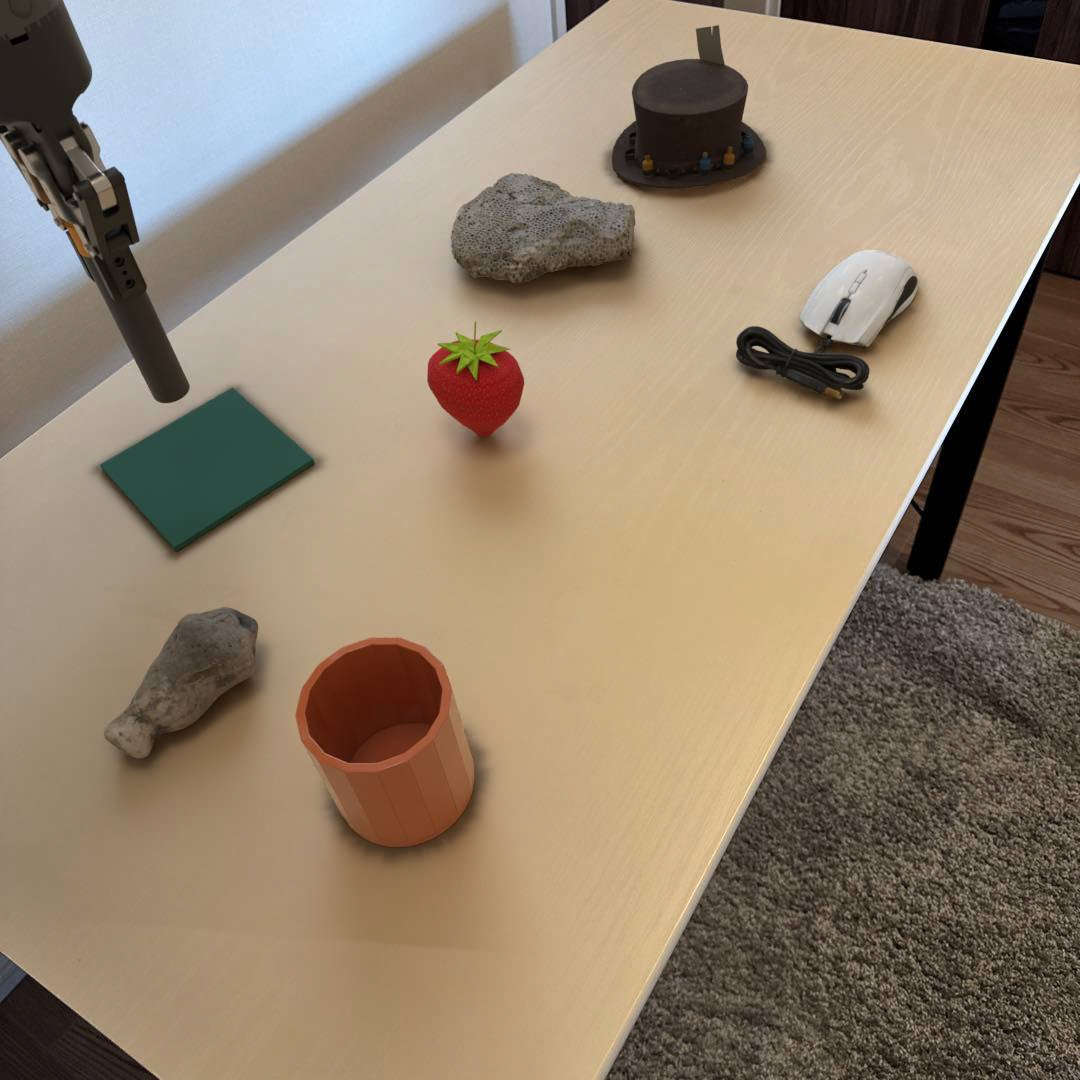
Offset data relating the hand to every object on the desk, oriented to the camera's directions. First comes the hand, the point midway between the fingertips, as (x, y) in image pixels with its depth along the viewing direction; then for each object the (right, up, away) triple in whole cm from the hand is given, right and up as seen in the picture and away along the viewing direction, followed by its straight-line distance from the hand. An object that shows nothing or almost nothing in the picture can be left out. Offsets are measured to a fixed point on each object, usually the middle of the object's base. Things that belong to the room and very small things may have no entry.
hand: (119, 285), depth 65 cm
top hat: (+42, +21, +35) cm, 59 cm away
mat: (+1, -11, +13) cm, 17 cm away
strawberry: (+23, -8, +13) cm, 27 cm away
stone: (+6, -27, -1) cm, 27 cm away
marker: (+1, -6, +7) cm, 9 cm away
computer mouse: (+51, +1, +17) cm, 54 cm away
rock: (+27, +10, +27) cm, 40 cm away
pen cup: (+19, -30, -6) cm, 36 cm away
